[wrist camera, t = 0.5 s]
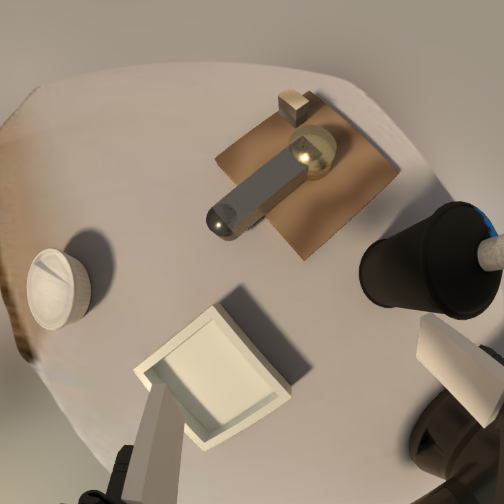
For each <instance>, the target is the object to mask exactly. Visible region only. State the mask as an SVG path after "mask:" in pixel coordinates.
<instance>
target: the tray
mask: <svg viewBox="0 0 504 504" xmlns="http://www.w3.org/2000/svg"><path fill="white" fill-rule="evenodd" d="M133 371H134V372H135V374H136V375H137V376H138V378H139V379H140V380H141V381H142V383H143V384H144V385H145V387H146V388H147V389H148V390H149V392H150V389H151V386H152V384H159V383H167V385H168V387H169V389H170V391H171V393H172V395H173V397H174V399H175V401H176V403H177V405H178V407H179V409H180V411H181V412H182V414H183V416H184V418H185V426H184V432H185V433H186V434H187V435H188V436H189V437H190V438H191V439H192V440H193V441H194V442H195V443H196V444H197V445H198V446H199V447H200V448H201V449H202V450H203V451H206V450H208V449H210V448H212V447H213V446H215V445H217V444H219V443H221V442H223V441H224V440H226V439H228V438H230V437H231V436H233V435H235V434H236V433H238V432H240V431H242V430H243V429H245V428H246V427H248V426H250V425H251V424H253V423H255V422H256V421H258V420H259V419H261V418H262V417H264V416H265V415H267V414H269V413H270V412H272V411H273V410H275V409H276V408H277V407H279V406H280V405H282V404H283V403H285V402H286V401H288V400H289V399H290V398H292V389H291V386H290V384H289V383H288V382H287V381H286V380H285V379H284V378H283V377H282V376H281V374H280V373H279V372H278V371H277V370H276V369H275V368H274V367H273V366H272V364H271V363H270V362H269V361H268V360H267V359H266V358H265V356H264V355H263V354H262V353H261V352H260V351H259V350H258V348H257V347H256V346H255V345H254V344H253V343H252V341H251V340H250V339H249V338H248V337H247V335H246V334H245V333H244V332H243V331H242V330H241V328H240V327H239V326H238V325H237V324H236V322H235V321H234V320H233V319H232V318H231V316H230V315H229V314H228V313H227V311H226V310H225V309H224V308H223V307H222V305H221V304H215V305H212V306H211V307H210V308H209V309H207V310H206V311H205V312H204V313H203V314H201V315H200V316H199V317H198V318H196V319H195V320H194V321H193V322H192V323H190V324H189V325H188V326H187V327H186V328H184V329H183V330H182V331H181V332H179V333H178V334H177V335H176V336H175V337H173V338H172V339H171V340H170V341H169V342H167V343H166V344H165V345H164V346H162V347H161V348H160V349H159V350H157V351H156V352H155V353H154V354H153V355H151V356H150V357H149V358H148V359H146V360H145V361H144V362H143V363H141V364H140V365H139V366H138V367H136V368H135V369H134V370H133Z"/></svg>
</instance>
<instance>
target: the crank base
mask: <svg viewBox="0 0 504 504" xmlns="http://www.w3.org/2000/svg"><path fill="white" fill-rule="evenodd" d="M278 102H279V111H278V112H276V113H275V114H273V115H272V116H270V117H269V118H268V119H266V120H265V121H263V122H262V123H261V124H259V125H258V126H256V127H255V128H254V129H252V130H251V131H250V132H248V133H247V134H246V135H244V136H243V137H242V138H240V139H239V140H238V141H236V142H235V143H234V144H232V145H231V146H230V147H228V148H227V149H226V150H225V151H223V152H222V153H221V154H219V155H218V156H217V157H216V158H214V159H215V160H216V162H217V164H218V166H219V167H220V168H221V169H222V170H223V171H224V172H225V173H226V174H227V175H228V176H229V177H230V179H231V180H232V181H233V182H234V183H235V184H236V185H237V186H238V185H239V184H241V183H242V182H243V181H244V180H246V179H247V178H248V177H249V176H251V175H252V174H253V173H254V172H256V171H257V170H258V169H259V168H261V167H262V166H263V165H264V164H266V163H267V162H268V161H269V160H271V159H272V158H273V157H275V156H276V155H277V154H279V153H280V152H281V151H282V150H284V149H285V148H286V147H288V146H289V138H290V136H291V134H292V133H293V132H294V131H295V130H296V129H297V128H299V127H301V126H305V125H316V126H320V127H322V128H324V129H326V130H327V131H329V132H330V133H331V134H332V136H333V137H334V139H335V141H336V145H337V150H336V154H335V156H334V159H333V162H332V165H331V168H330V170H329V172H328V173H327V175H326V176H324V177H323V178H321V179H319V180H315V181H308V180H306V181H305V182H304V183H302V184H301V185H300V186H299V187H297V188H296V189H295V190H294V191H293V192H291V193H290V194H289V195H288V196H287V197H285V198H284V199H283V200H282V201H281V202H279V203H278V204H277V205H276V206H275V207H273V208H272V209H271V210H270V211H269V212H267V213H266V214H265V215H264V216H265V217H266V218H267V219H268V220H269V222H270V223H271V224H272V225H273V226H274V227H275V228H276V229H277V231H278V232H279V233H280V234H281V235H282V236H283V237H284V239H285V240H286V241H287V242H288V243H289V244H290V245H291V247H292V248H293V249H294V250H295V251H296V252H297V253H298V255H299V256H300V257H301V258H302V259H303V260H304V261H305V260H306V259H307V258H308V257H309V256H310V255H312V254H313V253H314V252H315V251H316V250H317V249H318V248H319V247H321V246H322V245H323V244H324V243H325V242H326V241H327V240H328V239H330V238H331V237H332V236H333V235H334V234H335V233H336V232H337V231H338V230H340V229H341V228H342V227H343V226H344V225H345V224H346V223H347V222H348V221H349V220H351V219H352V218H353V217H354V216H355V215H356V214H357V213H358V212H359V211H360V210H361V209H362V208H364V207H365V206H366V205H367V204H368V203H369V202H370V201H371V200H372V199H373V198H374V197H375V196H376V195H377V194H378V193H380V192H381V191H382V190H383V189H384V188H385V187H386V186H387V185H388V184H389V183H390V182H391V181H392V180H393V179H394V178H395V177H396V176H397V175H398V174H399V172H398V171H397V170H396V169H395V168H394V167H393V166H392V165H391V164H390V163H389V162H388V161H387V160H386V159H385V158H384V157H383V156H382V155H381V154H380V152H379V151H378V150H377V149H376V148H375V147H373V146H372V145H371V144H370V143H369V142H368V141H367V140H366V139H365V138H364V137H363V136H362V135H361V134H360V133H359V132H358V131H357V130H356V129H355V128H353V127H352V126H351V125H350V124H349V123H348V122H347V121H346V120H345V119H343V118H342V117H341V116H340V115H339V114H338V113H336V112H335V111H334V110H333V109H332V108H330V107H329V106H328V105H327V104H326V103H324V102H323V101H322V100H321V99H319V98H318V97H317V96H316V95H314V94H313V93H312V92H311V91H308V92H306V93H305V94H303V95H301V94H300V93H298V92H297V91H296V90H294V89H293V88H292V87H290V88H288V89H286V90H285V91H283V92H282V93H280V94H279V95H278Z"/></svg>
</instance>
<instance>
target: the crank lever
mask: <svg viewBox="0 0 504 504" xmlns="http://www.w3.org/2000/svg"><path fill="white" fill-rule="evenodd" d="M336 150H337V145H336V141H335V139H334V137H333V136H332V134H331V133H330V132H329V131H327V130H326V129H324V128H322V127H320V126H316V125H305V126H301V127H299V128H297V129H296V130H295V131H294V132H293V133H292V134H291V136H290V138H289V146H288V147H286V148H285V149H284V150H282V151H281V152H280V153H279V154H277V155H276V156H275V157H273V158H272V159H271V160H269V161H268V162H267V163H266V164H264V165H263V166H262V167H261V168H259V169H258V170H257V171H256V172H254V173H253V174H252V175H251V176H249V177H248V178H247V179H246V180H244V181H243V182H242V183H241V184H239V185H238V186H237V187H236V188H235V189H233V190H232V191H231V192H230V193H228V194H227V195H226V196H225V197H224V198H222V199H221V200H220V201H219V202H218V203H217V204H215V205H214V206H213V207H212V208H211V209H210V210H209V211H208V213H207V217H206V223H207V226H208V228H209V229H210V230H211V231H212V232H214V233H215V234H216V235H217V236H219V237H220V238H221V239H223V240H226V241H232V240H235V239H236V238H238V237H239V236H240V235H241V234H242V233H244V232H245V231H246V230H247V229H248V228H250V227H251V226H252V225H253V224H254V223H255V222H257V221H258V220H259V219H260V218H261V217H263V216H264V215H265V214H266V213H267V212H269V211H270V210H271V209H272V208H273V207H275V206H276V205H277V204H278V203H279V202H281V201H282V200H283V199H284V198H285V197H287V196H288V195H289V194H290V193H291V192H293V191H294V190H295V189H296V188H297V187H299V186H300V185H301V184H302V183H304V182H305V181H306V180H308V181H315V180H319V179H321V178H323V177H324V176H326V175H327V173H328V172H329V170H330V168H331V165H332V162H333V159H334V156H335V154H336Z"/></svg>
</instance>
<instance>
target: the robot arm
mask: <svg viewBox="0 0 504 504" xmlns="http://www.w3.org/2000/svg"><path fill="white" fill-rule="evenodd" d="M416 358H417V359H418V360H419V361H420V362H421V363H422V364H423V365H424V366H425V367H426V368H427V369H428V370H429V371H430V372H431V373H432V374H433V375H434V376H435V377H436V378H437V379H438V380H439V381H440V382H441V383H442V384H443V385H444V386H445V387H446V388H447V389H446V390H444V391H443V392H442V393H441V394H439V395H438V396H437V397H436V398H435V399H434V400H433V401H432V402H431V403H430V405H429V406H428V407H427V408H426V409H425V411H424V412H423V414H422V415H421V417H420V418H419V420H418V422H417V423H416V425H415V427H414V430H413V432H412V435H411V439H410V445H409V451H410V455H411V458H412V459H413V461H414V462H415V463H416V465H417V466H418V467H419V468H420V469H421V470H423V471H425V472H427V473H430V474H432V475H435V476H437V477H440V478H442V479H445V480H446V482H444V483H443V484H441V485H440V486H438V487H437V488H435V489H434V490H432V491H431V492H429V493H428V494H426V495H424V496H423V497H421V498H419V499H418V500H416V501H414V502H413V503H411V504H504V358H502V356H500V355H499V354H497V353H496V352H495V351H494V350H492V349H491V348H489V347H486V346H483V345H480V346H479V347H478V346H477V345H475V344H474V343H473V342H471V341H470V340H469V339H467V338H466V337H465V336H463V335H462V334H461V333H459V332H458V331H456V330H455V329H454V328H452V327H451V326H450V325H448V324H447V323H445V322H444V321H443V320H441V319H440V318H438V317H437V316H435V315H434V314H433V313H429V314H426V315H424V316H422V317H421V319H420V330H419V339H418V347H417V354H416ZM184 426H185V418H184V416H183V414H182V412H181V411H180V409H179V407H178V405H177V403H176V401H175V399H174V397H173V395H172V393H171V391H170V389H169V387H168V385H167V383H159V384H152V386H151V389H150V392H149V396H148V399H147V402H146V406H145V409H144V412H143V416H142V419H141V423H140V426H139V430H138V433H137V437H136V441H135V444H134V445H124V446H123V447H122V448H121V450H120V451H119V452H118V454H117V457H116V460H115V464H114V467H113V472H112V474H111V477H110V481H109V485H108V489H107V492H106V495H105V494H104V493H102V492H100V491H98V490H90V491H86V492H85V493H83V494H82V496H81V497H80V499H79V502H78V504H177V493H178V482H179V471H180V461H181V452H182V443H183V434H184ZM61 504H62V503H61Z"/></svg>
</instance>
